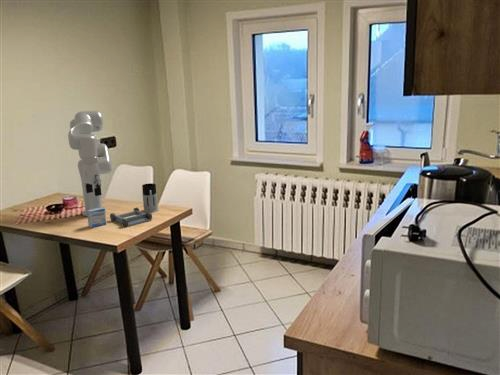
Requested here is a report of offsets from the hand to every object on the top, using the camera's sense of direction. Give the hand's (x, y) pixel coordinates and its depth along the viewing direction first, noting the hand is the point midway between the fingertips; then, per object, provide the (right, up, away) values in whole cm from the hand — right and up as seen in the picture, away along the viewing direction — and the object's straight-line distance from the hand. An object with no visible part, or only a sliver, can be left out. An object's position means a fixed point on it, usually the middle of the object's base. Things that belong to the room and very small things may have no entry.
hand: (94, 193), depth 213 cm
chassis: (+16, -14, +11) cm, 24 cm away
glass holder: (+23, -11, +25) cm, 36 cm away
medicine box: (0, -16, +4) cm, 17 cm away
